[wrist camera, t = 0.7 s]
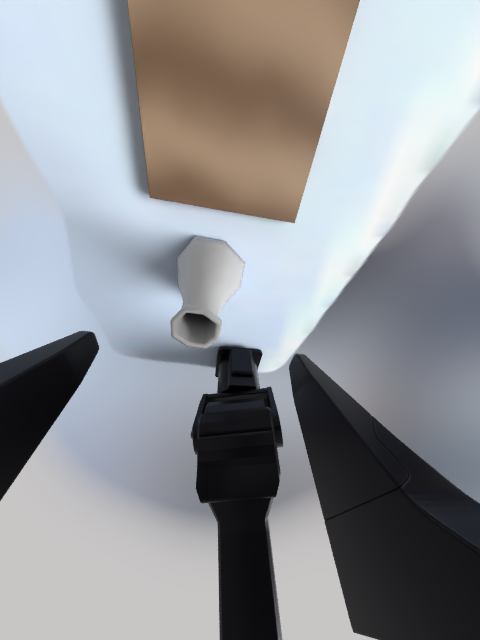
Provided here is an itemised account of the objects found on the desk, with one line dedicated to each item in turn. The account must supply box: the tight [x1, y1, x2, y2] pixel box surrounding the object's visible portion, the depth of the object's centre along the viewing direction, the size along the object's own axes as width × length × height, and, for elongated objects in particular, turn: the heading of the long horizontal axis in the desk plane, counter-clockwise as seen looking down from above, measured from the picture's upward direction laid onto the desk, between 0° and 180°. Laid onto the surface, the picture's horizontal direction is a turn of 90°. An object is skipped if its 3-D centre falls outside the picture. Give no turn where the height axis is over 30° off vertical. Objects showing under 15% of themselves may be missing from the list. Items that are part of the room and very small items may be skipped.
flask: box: [171, 236, 245, 348], centre depth 15 cm, size 7×7×10 cm
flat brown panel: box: [127, 0, 360, 223], centre depth 12 cm, size 12×12×2 cm
